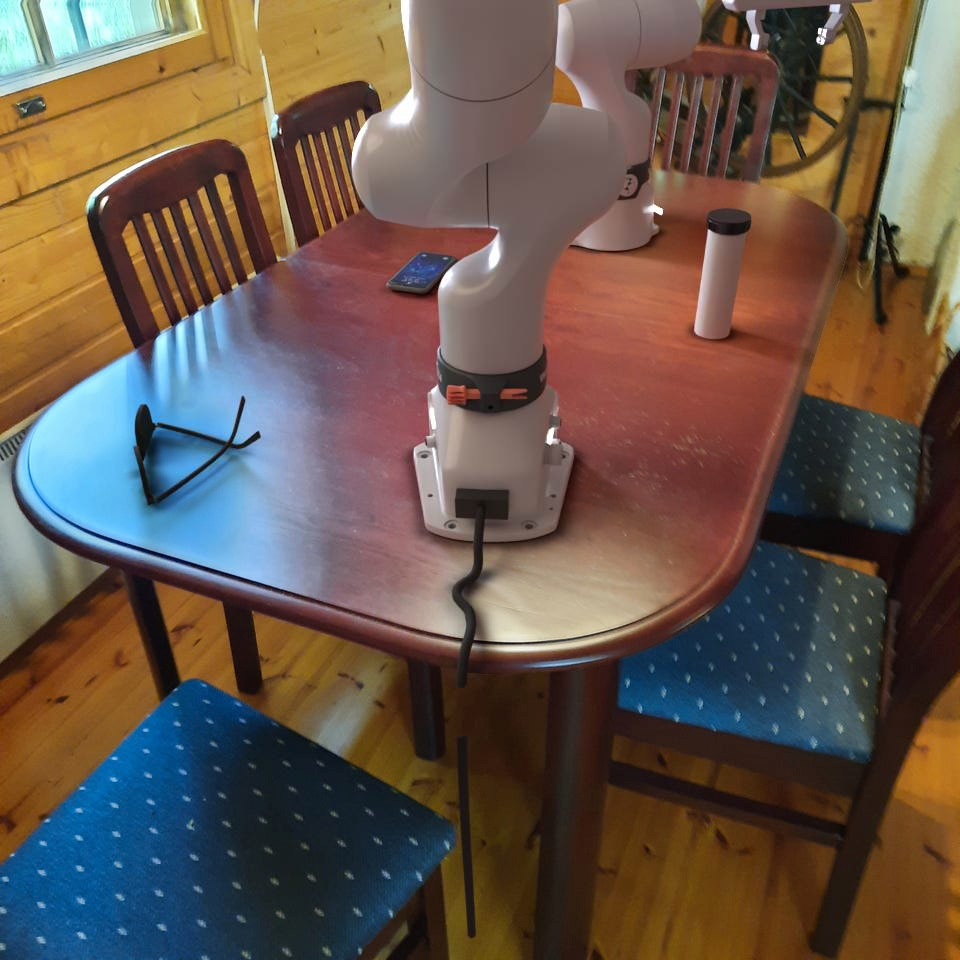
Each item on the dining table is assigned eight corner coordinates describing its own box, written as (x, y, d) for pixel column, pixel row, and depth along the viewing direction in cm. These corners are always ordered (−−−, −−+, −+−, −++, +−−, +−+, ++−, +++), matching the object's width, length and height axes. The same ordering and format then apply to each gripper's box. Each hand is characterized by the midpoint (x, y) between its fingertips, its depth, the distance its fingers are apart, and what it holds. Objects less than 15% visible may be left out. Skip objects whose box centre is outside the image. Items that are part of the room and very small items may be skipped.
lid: (700, 231, 115) (702, 219, 114) (711, 217, 119) (713, 205, 118) (744, 237, 113) (746, 225, 112) (753, 223, 117) (756, 211, 116)
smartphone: (458, 255, 148) (426, 290, 136) (458, 261, 148) (426, 296, 137) (419, 250, 150) (383, 284, 138) (419, 255, 150) (384, 289, 139)
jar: (690, 335, 124) (705, 222, 114) (699, 321, 128) (714, 210, 118) (724, 342, 122) (743, 227, 112) (732, 327, 126) (752, 215, 116)
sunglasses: (270, 486, 97) (262, 449, 94) (137, 510, 94) (125, 474, 91) (257, 411, 110) (250, 377, 107) (140, 430, 107) (130, 396, 104)
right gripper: (874, -88, 106) (849, 36, 114) (724, -81, 102) (708, 48, 110) (908, -86, 101) (878, 44, 109) (750, -78, 97) (732, 56, 105)
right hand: (791, 46), depth 109 cm, fingers open, 8 cm apart
